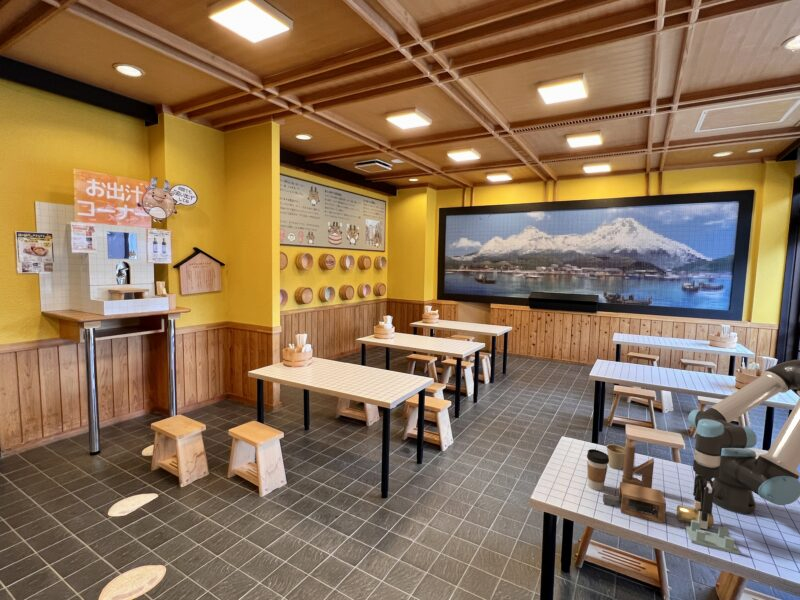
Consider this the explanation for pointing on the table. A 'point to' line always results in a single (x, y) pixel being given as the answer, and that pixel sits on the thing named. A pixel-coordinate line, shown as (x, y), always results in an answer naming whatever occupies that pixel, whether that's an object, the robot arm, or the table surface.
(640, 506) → the drift bar
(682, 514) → the gold metallic block
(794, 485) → the robot arm
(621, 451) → the flower pot
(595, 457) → the coffee cup
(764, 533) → the table surface
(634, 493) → the box
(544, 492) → the table surface
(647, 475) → the wooden bracket
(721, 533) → the cradle
